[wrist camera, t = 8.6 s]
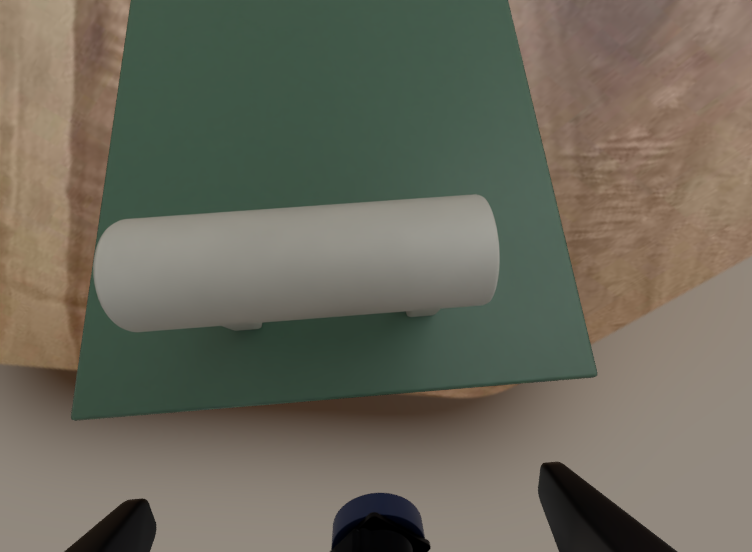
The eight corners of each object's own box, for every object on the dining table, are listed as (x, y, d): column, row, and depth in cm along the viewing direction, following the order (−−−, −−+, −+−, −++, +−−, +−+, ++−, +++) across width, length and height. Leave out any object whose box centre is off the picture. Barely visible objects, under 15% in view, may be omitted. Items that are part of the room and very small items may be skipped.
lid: (583, 377, 9) (822, 371, 4) (91, 418, 8) (-257, 462, 4) (496, -2, 12) (572, -243, 7) (143, 18, 12) (-8, -219, 7)
